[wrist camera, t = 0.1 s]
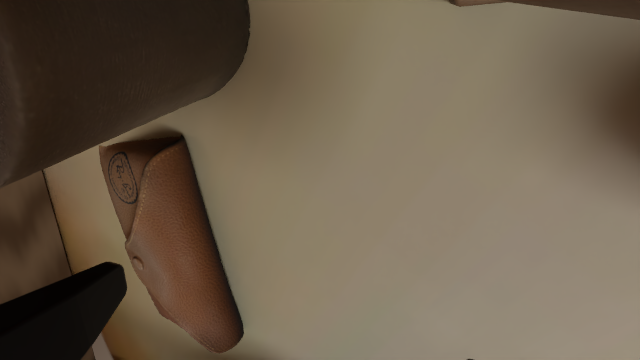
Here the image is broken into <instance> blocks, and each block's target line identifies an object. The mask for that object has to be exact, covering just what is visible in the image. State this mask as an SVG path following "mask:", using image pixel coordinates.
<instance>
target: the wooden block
mask: <svg viewBox="0 0 640 360" xmlns="http://www.w3.org/2000/svg"><path fill="white" fill-rule="evenodd" d="M449 2H450V3H451V4H454V5H456V6H459V7H461V6H471V5H482V4H492V3H503V2H512V3H520V4H527V5H535V6H542V7H549V8H557V9H564V10H571V11H579V12H586V13H594V14H601V15H608V16H616V17H623V18H630V19H638V20H640V0H449Z"/></svg>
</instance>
